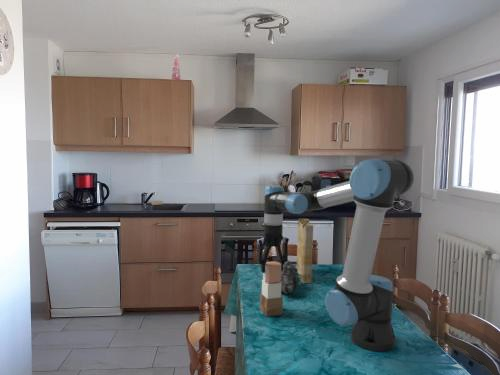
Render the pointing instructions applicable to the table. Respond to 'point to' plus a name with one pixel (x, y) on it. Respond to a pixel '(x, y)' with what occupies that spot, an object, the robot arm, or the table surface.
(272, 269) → the terracotta block
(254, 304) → the table surface
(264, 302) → the walnut base cube
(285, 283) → the rock
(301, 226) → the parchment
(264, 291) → the cream top cube
